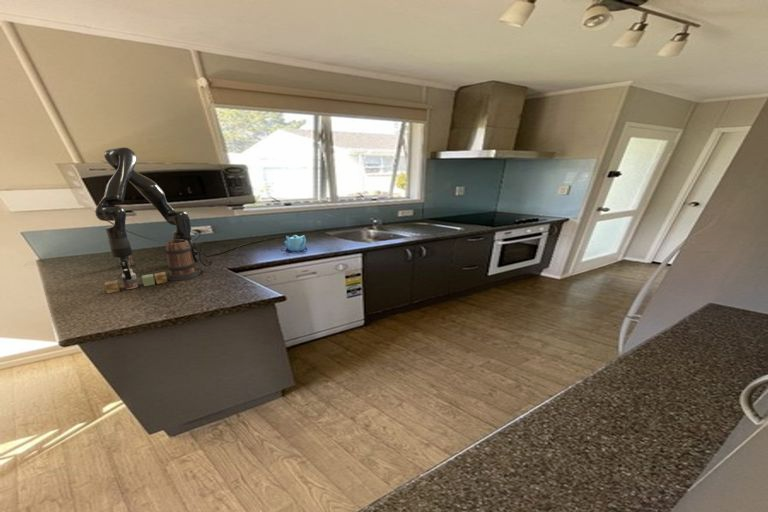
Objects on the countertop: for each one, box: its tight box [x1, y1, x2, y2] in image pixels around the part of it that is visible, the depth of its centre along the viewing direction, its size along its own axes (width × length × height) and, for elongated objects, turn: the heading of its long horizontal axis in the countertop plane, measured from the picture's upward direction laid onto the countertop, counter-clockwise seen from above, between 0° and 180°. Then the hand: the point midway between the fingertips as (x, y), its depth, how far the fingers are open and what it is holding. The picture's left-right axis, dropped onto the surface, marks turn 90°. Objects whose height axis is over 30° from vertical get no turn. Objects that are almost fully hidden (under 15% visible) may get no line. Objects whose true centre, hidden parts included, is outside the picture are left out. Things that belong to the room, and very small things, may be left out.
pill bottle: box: [121, 268, 139, 290], centre depth 147 cm, size 5×5×10 cm
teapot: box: [283, 234, 307, 252], centre depth 215 cm, size 15×15×11 cm
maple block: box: [154, 271, 168, 285], centre depth 155 cm, size 5×5×5 cm
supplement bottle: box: [118, 254, 135, 267], centre depth 175 cm, size 6×6×11 cm
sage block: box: [141, 273, 156, 287], centre depth 152 cm, size 5×5×5 cm
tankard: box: [164, 239, 213, 281], centre depth 164 cm, size 24×17×20 cm
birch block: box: [104, 279, 121, 294], centre depth 143 cm, size 5×5×5 cm
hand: (129, 277), depth 146 cm, fingers open, 6 cm apart
